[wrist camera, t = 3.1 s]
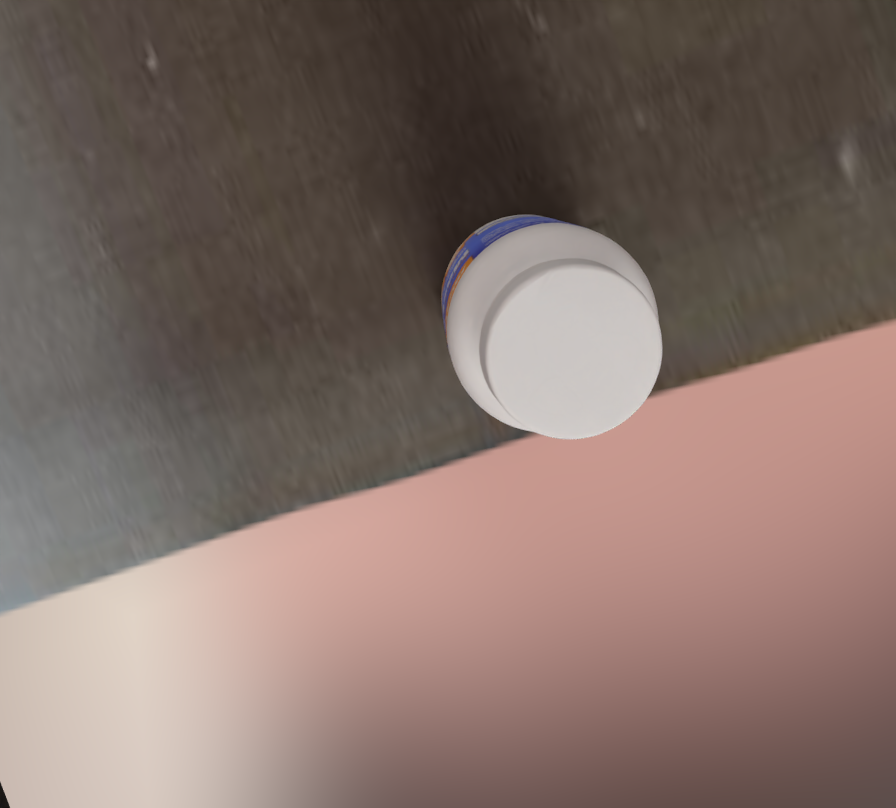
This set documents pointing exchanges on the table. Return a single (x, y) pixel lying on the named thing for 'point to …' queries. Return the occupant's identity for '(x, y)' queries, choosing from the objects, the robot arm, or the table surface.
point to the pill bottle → (551, 326)
